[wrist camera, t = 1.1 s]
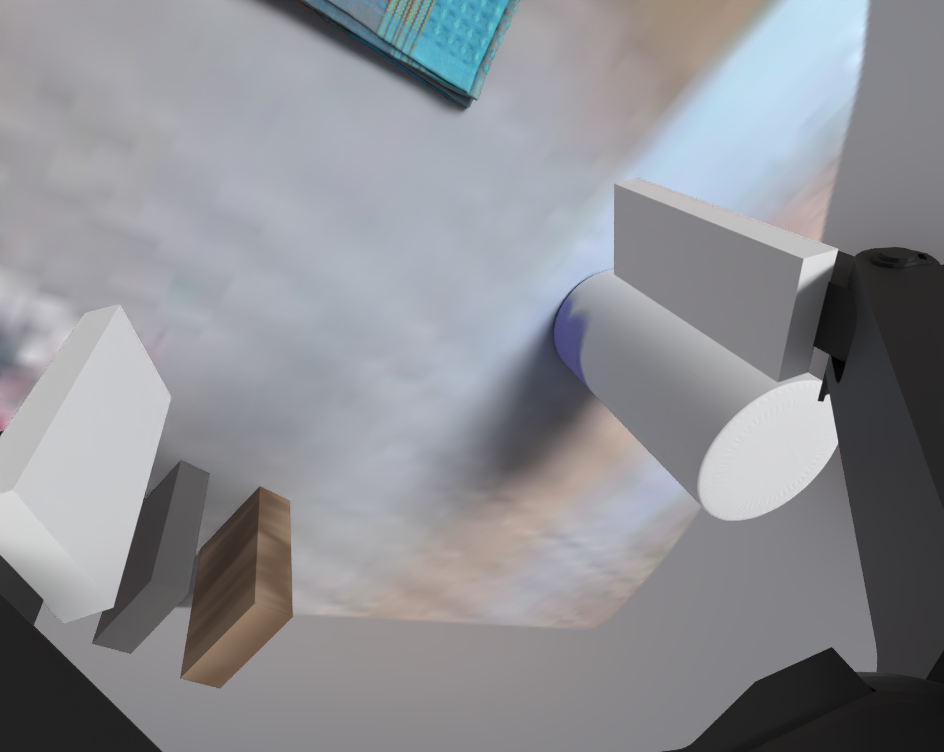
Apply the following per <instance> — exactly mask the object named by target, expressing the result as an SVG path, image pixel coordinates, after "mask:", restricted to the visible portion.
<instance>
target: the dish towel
mask: <svg viewBox="0 0 944 752" xmlns="http://www.w3.org/2000/svg"><path fill="white" fill-rule="evenodd" d="M299 1H300V2H302V3H303V4H304V5H305V6H306V7H309V8H311V9H313V10H314V11H315V12H316V13H317V14H319V15H320V16H322V17H323V19H325V20H326V21H328V22H329V23H331V24H333V25H334V26H336V27H337V28H339V29H340V30H342V31H343V32H345V33H346V34H348V35H349V36H351V37H353V38H354V39H356V40H358V41H360V42H362V43H363V44H365V45H367V46H368V47H370V48H372V49H373V50H375V51H376V52H377V53H379V54H380V55H382V56H383V57H385V58H386V59H388V60H389V61H391V62H392V63H394V64H396V65H397V66H399V67H400V68H402V69H404V70H405V71H407V72H408V73H409V74H411V75H412V76H414V77H416V78H417V79H419V80H420V81H421V82H423V83H424V84H426V85H428V86H429V87H431V88H432V89H434V90H436V91H438V92H440V93H441V94H443V95H444V96H445V97H446V98H448V99H450V100H452V101H453V102H457V101H458V102H459V103H461V104H462V105H464V106H465V107H466V108H469V107H470V105H471V103H472V101H473V99H475V100H478V98H479V96H480V93H481V90H482V87H483V84H484V79H485V77H486V75H487V72H488V70H489V67H490V65H491V62H492V60H493V58H494V56H495V53H496V51H497V49H498V47H499V45H500V44H501V42H502V40H503V36H504V34H505V32H506V30H507V29H508V27H509V25H510V21H511V18H512V16H513V14H514V12H515V11H516V9H517V6H518V3H519V1H520V0H299Z"/></svg>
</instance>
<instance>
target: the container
mask: <svg viewBox="0 0 944 752" xmlns="http://www.w3.org/2000/svg"><path fill="white" fill-rule="evenodd" d="M554 344H555V348H556V351H557V353H558V355H559V357H560V359H561V360H562V361H563V362H564V363H565V364H566V366H567V367H568V368H569V369H570V370H571V371H572V372H573V373H574V374H575V375H576V376H577V377H578V378H579V379H580V380H581V381H582V382H583V383H584V384H585V385H586V386H587V387H588V388H589V389H590V391H591V392H592V393H593V394H594V395H595V396H596V397H597V398H598V399H599V400H600V401H601V402H602V403H603V404H604V405H605V406H606V407H607V408H608V409H609V410H610V411H611V412H612V413H613V415H614V416H615V417H616V418H617V419H618V420H619V421H620V422H621V423H622V424H623V425H624V426H625V427H626V428H627V429H628V430H629V431H630V432H631V433H632V434H633V435H634V436H635V437H636V438H637V440H638V441H639V442H640V443H641V444H642V445H643V446H644V447H645V448H646V449H647V450H648V451H649V452H650V453H651V454H652V455H653V456H654V457H655V458H656V459H657V460H658V461H659V462H660V463H661V465H662V466H663V467H664V468H665V469H666V470H667V471H668V472H669V473H670V474H671V475H672V476H673V477H674V478H675V479H676V480H677V481H678V482H679V483H680V484H681V485H682V486H683V487H684V489H685V490H686V491H687V492H688V493H689V494H690V495H691V496H692V497H693V498H694V499H695V500H696V501H697V502H698V503H699V504H700V505H701V506H702V507H703V508H704V509H705V510H706V511H707V512H708V513H709V514H710V515H712V516H714V517H716V518H719V519H722V520H728V521H738V520H744V519H750V518H753V517H757V516H760V515H762V514H765V513H767V512H769V511H771V510H774V509H775V508H777V507H779V506H781V505H782V504H784V503H786V502H787V501H789V500H790V499H791V498H793V497H794V496H795V495H797V494H798V493H799V492H800V491H802V490H803V489H804V488H805V487H806V486H807V485H808V484H809V483H810V482H811V481H812V480H813V479H814V478H815V477H816V476H817V475H818V473H819V472H820V471H821V470H822V468H823V467H824V466H825V465H826V463H827V462H828V460H829V459H830V457H831V455H832V453H833V451H834V450H835V448H836V446H837V444H838V438H837V432H836V427H835V422H834V416H833V411H832V406H831V400H830V395H829V394H828V395H826V396H825V399H824V402H820V401H818V397H819V393H820V389H821V385H822V381H821V380H819V379H818V378H816V377H814V376H813V375H811V374H809V373H805V374H802V375H799V376H796V377H793V378H790V379H787V380H784V381H781V382H776V381H775V380H773V379H771V378H770V377H768V376H767V375H765V374H764V373H762V372H761V371H759V370H758V369H756V368H755V367H753V366H752V365H750V364H749V363H747V362H746V361H744V360H743V359H741V358H740V357H738V356H737V355H735V354H734V353H732V352H731V351H729V350H728V349H726V348H725V347H723V346H722V345H720V344H719V343H717V342H715V341H714V340H712V339H711V338H709V337H708V336H706V335H705V334H703V333H702V332H700V331H699V330H697V329H696V328H694V327H693V326H691V325H690V324H688V323H687V322H685V321H684V320H682V319H681V318H679V317H678V316H676V315H675V314H673V313H672V312H670V311H669V310H667V309H666V308H664V307H663V306H661V305H659V304H658V303H656V302H655V301H653V300H652V299H650V298H649V297H647V296H646V295H644V294H643V293H641V292H640V291H638V290H637V289H635V288H634V287H632V286H631V285H629V284H628V283H626V282H625V281H623V280H622V279H620V278H619V277H617V276H616V275H614V269H612V270H607V271H603V272H600V273H597V274H595V275H593V276H591V277H589V278H588V279H586V280H585V281H583V282H582V283H581V284H579V285H578V286H577V287H576V288H575V289H574V290H573V291H572V292H571V293H570V294H569V296H568V297H567V298H566V300H565V301H564V303H563V305H562V306H561V308H560V310H559V313H558V315H557V318H556V321H555V326H554Z"/></svg>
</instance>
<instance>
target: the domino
mask: <svg viewBox="0 0 944 752" xmlns="http://www.w3.org/2000/svg"><path fill="white" fill-rule="evenodd" d="M208 478H209V473H207V472H205V471H203V470H201V469H199V468H197V467H195V466H192V465H190V464H188V463H186V462H184V461H182V460H181V461H180V462H179V463H178V464H177V465H176V466H175V468H174V469H173V470H172V471H171V472H170V473H169V474H168V475H167V476H166V478H165V479H164V480H163V481H162V482H161V483H160V484H159V485H158V486H157V488H156V489H155V490H154V491H153V492H152V493H151V494H150V495H149V496H148V497H147V499H146V500H145V501H144V502H143V503H142V506H141V509H140V513H139V517H138V520H137V524H136V527H135V531H134V535H133V538H132V542H131V545H130V549H129V553H128V556H127V560H126V564H125V567H124V571H123V574H122V578H121V582H120V585H119V589H118V593H117V596H116V600H115V603H114V607H113V608H110V609H107V610H105V611H103V612H102V615H101V618H100V621H99V624H98V627H97V630H96V633H95V636H94V639H93V642H92V643H93V644H96V645H100V646H104V647H107V648H111V649H115V650H119V651H123V652H126V653H130V654H131V653H132V652H133V651H134V650H135V649H136V648H137V647H138V646H139V644H140V643H141V642H142V641H143V640H144V639H145V638H146V637H147V636H148V635H149V634H150V633H151V632H152V631H153V630H154V629H155V627H157V626H158V625H159V624H160V623H161V622H162V620H163V619H164V618H165V617H166V616H167V615H168V614H169V613H170V612H171V611H172V610H173V609H174V608H175V607H176V606H177V605H178V604H179V603H180V602H181V601H182V600H183V599H184V598H185V597H186V596H187V594H188V593H189V588H190V582H191V576H192V570H193V565H194V559H195V553H196V547H197V542H198V536H199V530H200V524H201V518H202V513H203V507H204V501H205V495H206V490H207V484H208Z"/></svg>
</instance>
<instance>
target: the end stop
mask: <svg viewBox="0 0 944 752" xmlns="http://www.w3.org/2000/svg"><path fill="white" fill-rule="evenodd" d="M292 617H293V611H292V568H291V526H290V501H289V500H287V499H285V498H283V497H281V496H279V495H277V494H274V493H272V492H270V491H268V490H266V489H264V488H262V487H259V488H258V489H257V490H256V491H255V492H254V493H253V495H252V496H251V497H250V498H249V499H248V500H247V501H246V502H245V503H244V504H243V505H242V506H241V507H240V508H239V509H238V510H237V511H236V513H235V514H234V515H233V516H232V517H231V518H230V519H229V520H228V521H227V522H226V523H225V524H224V525H223V526H222V527H221V528H220V529H219V530H218V532H217V533H216V534H215V535H214V536H213V537H212V538H211V539H210V540H209V541H208V542H207V543H206V544H205V545H204V546H203V547H202V548H201V554H200V560H199V566H198V572H197V578H196V585H195V591H194V597H193V603H192V609H191V615H190V621H189V628H188V634H187V641H186V646H185V653H184V658H183V664H182V671H181V677H180V678H181V679H184V680H188V681H192V682H196V683H201V684H205V685H209V686H213V687H217V688H221V687H222V686H223V685H224V684H225V683H226V682H227V681H228V680H229V679H230V678H231V677H232V676H233V675H234V674H235V673H236V672H237V671H238V670H239V669H240V668H241V667H242V666H243V665H244V664H245V663H246V662H247V661H248V660H249V659H250V658H251V657H252V656H253V655H254V654H255V653H256V652H258V651H259V650H260V648H262V647H263V646H264V645H265V644H266V643H267V642H268V641H269V640H270V639H271V638H272V637H273V636H274V635H275V634H276V633H277V632H278V631H279V630H280V629H281V628H282V627H283V626H284V625H285V624H286V623H287V622H288V621H289V620H290V619H291V618H292Z"/></svg>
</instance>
